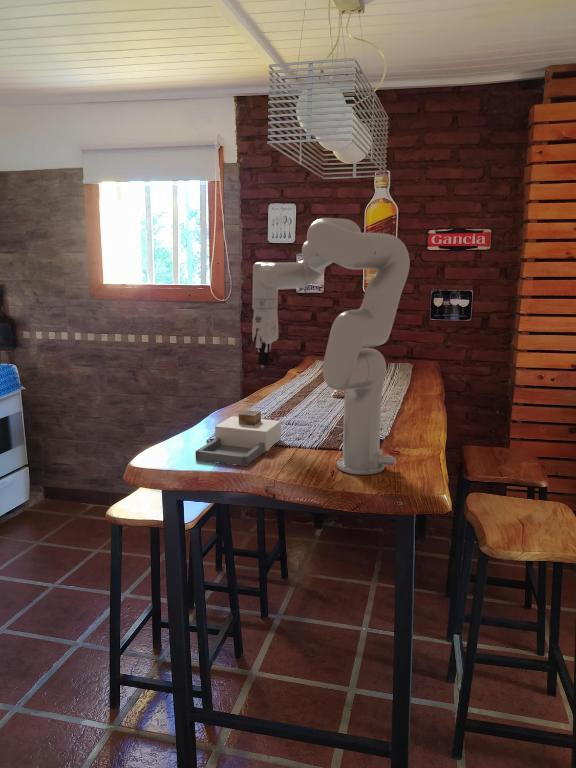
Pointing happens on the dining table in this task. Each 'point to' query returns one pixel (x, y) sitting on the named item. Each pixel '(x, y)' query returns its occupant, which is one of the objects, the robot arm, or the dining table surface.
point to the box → (228, 453)
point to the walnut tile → (249, 417)
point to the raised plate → (248, 433)
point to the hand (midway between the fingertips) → (264, 364)
